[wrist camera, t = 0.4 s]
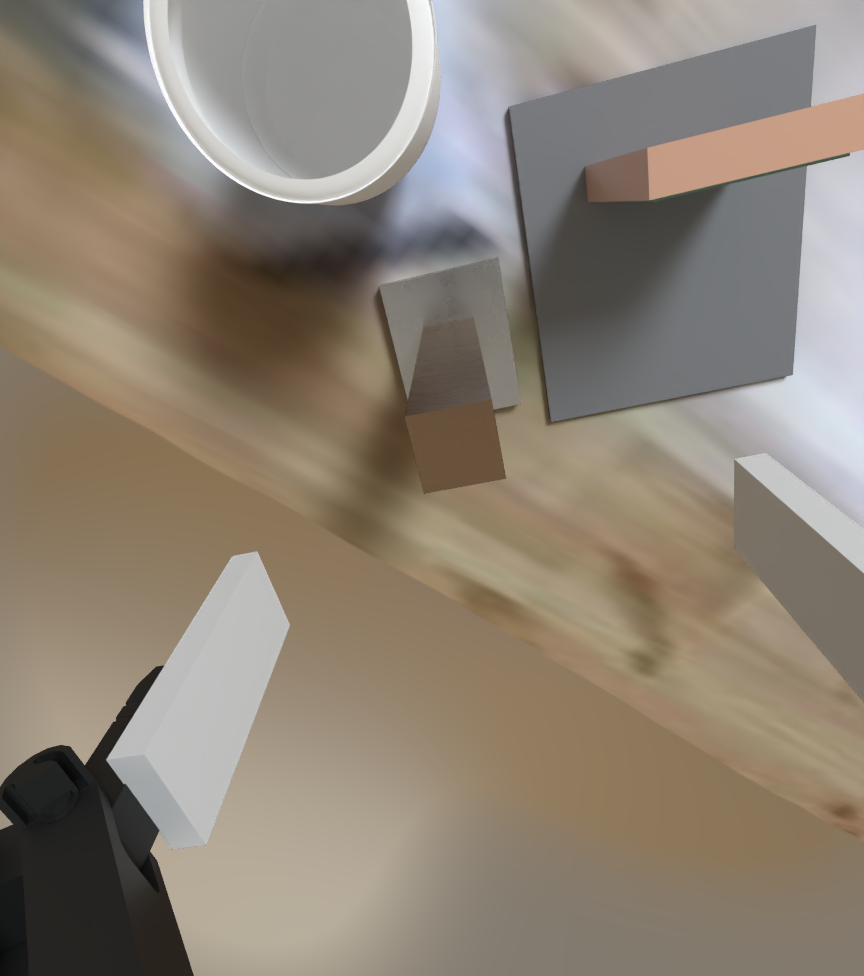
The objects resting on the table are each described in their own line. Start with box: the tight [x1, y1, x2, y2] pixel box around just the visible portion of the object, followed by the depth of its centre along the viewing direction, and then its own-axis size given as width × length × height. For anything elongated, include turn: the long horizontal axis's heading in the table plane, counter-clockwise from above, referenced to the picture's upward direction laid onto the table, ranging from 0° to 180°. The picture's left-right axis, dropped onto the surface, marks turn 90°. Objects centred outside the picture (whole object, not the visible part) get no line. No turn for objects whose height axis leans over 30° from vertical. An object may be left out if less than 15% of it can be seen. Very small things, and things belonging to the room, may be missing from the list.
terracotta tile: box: [585, 94, 864, 203], centre depth 29 cm, size 2×9×12 cm, turn 102°
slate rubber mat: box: [509, 25, 816, 422], centre depth 36 cm, size 20×17×1 cm
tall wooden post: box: [379, 258, 521, 494], centre depth 31 cm, size 10×8×19 cm
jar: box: [144, 0, 441, 205], centre depth 27 cm, size 11×10×15 cm
